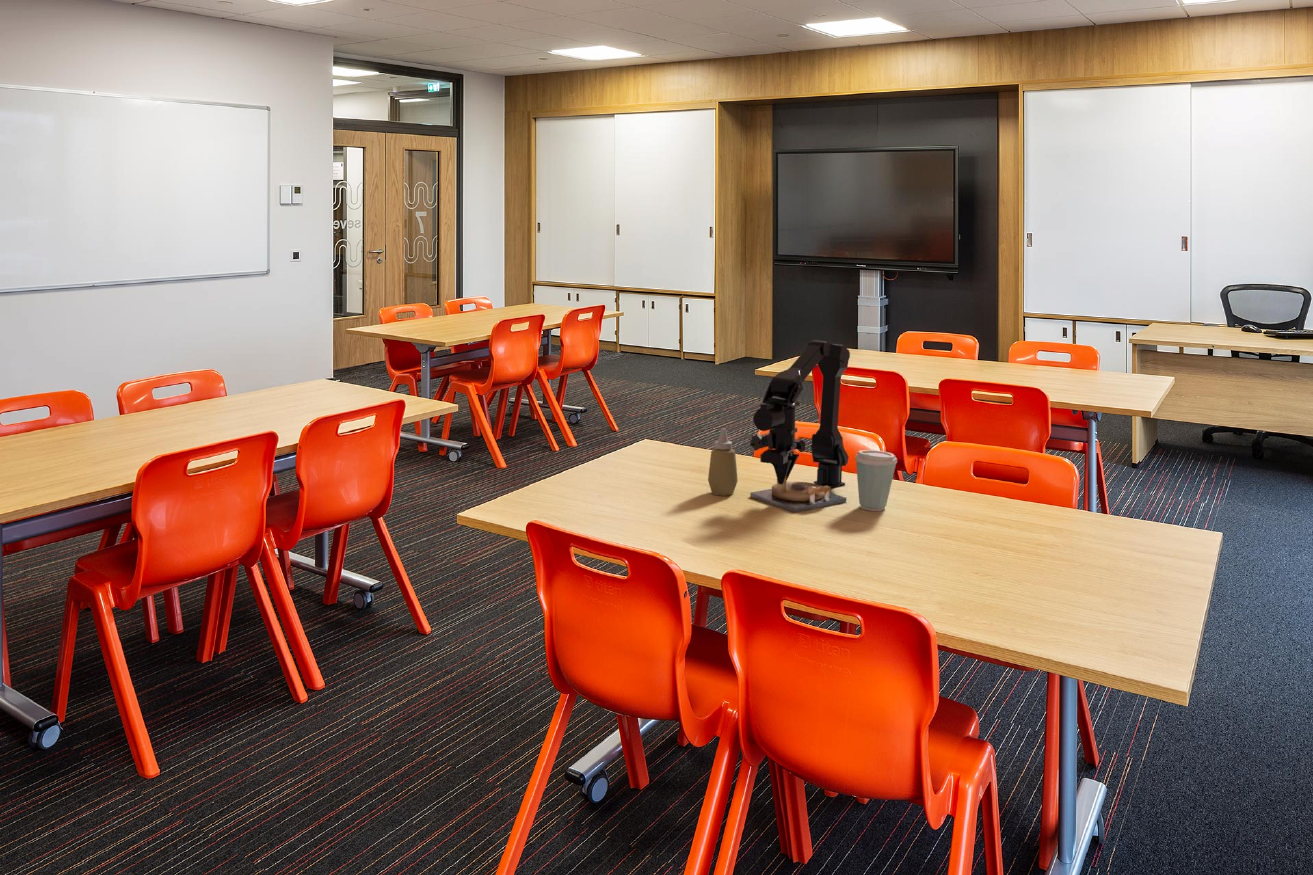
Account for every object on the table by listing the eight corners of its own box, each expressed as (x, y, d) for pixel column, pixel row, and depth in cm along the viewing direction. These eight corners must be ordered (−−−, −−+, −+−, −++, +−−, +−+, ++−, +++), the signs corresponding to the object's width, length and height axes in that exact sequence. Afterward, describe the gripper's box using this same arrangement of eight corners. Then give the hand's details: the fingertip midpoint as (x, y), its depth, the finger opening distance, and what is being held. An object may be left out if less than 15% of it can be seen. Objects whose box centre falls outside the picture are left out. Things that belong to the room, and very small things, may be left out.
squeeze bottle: (737, 489, 282) (739, 426, 279) (737, 497, 275) (738, 432, 271) (708, 489, 283) (709, 425, 279) (707, 496, 275) (707, 431, 272)
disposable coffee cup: (867, 500, 273) (870, 445, 269) (902, 508, 265) (906, 451, 262) (844, 507, 265) (847, 451, 262) (880, 516, 258) (883, 458, 255)
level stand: (800, 487, 285) (801, 470, 284) (846, 502, 271) (847, 483, 270) (750, 496, 275) (750, 478, 274) (794, 512, 261) (795, 493, 260)
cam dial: (799, 484, 282) (800, 457, 281) (835, 495, 271) (836, 468, 269) (760, 492, 274) (760, 464, 273) (795, 504, 263) (796, 475, 262)
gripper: (767, 415, 277) (765, 471, 280) (741, 428, 260) (740, 487, 264) (806, 419, 272) (804, 476, 275) (783, 432, 256) (781, 492, 259)
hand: (782, 482), depth 268 cm, fingers closed on cam dial, 2 cm apart
